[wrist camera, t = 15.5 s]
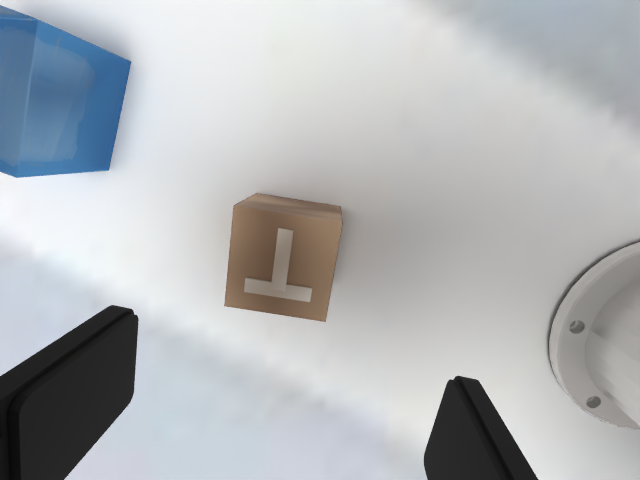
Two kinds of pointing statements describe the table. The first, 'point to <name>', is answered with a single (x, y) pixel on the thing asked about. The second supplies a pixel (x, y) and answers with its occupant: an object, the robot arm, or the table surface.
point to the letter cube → (283, 256)
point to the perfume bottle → (56, 99)
